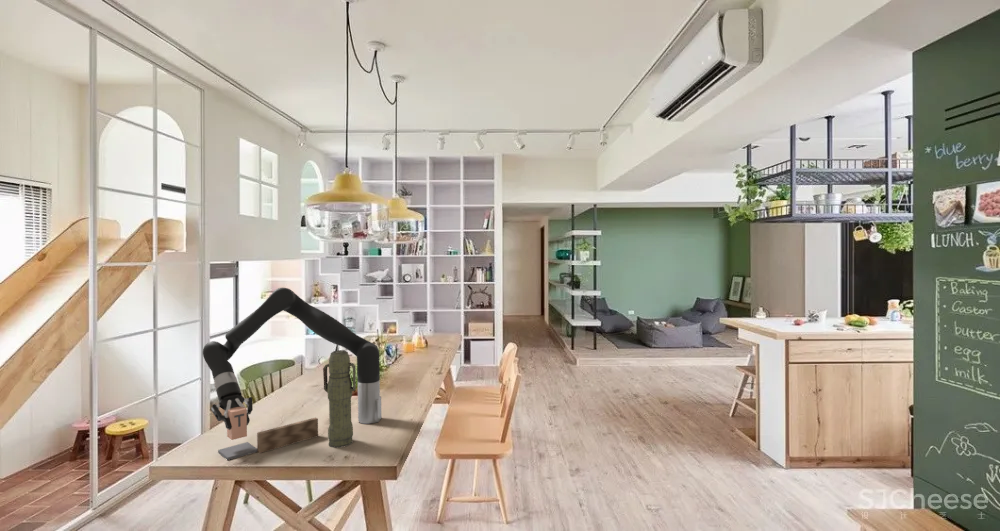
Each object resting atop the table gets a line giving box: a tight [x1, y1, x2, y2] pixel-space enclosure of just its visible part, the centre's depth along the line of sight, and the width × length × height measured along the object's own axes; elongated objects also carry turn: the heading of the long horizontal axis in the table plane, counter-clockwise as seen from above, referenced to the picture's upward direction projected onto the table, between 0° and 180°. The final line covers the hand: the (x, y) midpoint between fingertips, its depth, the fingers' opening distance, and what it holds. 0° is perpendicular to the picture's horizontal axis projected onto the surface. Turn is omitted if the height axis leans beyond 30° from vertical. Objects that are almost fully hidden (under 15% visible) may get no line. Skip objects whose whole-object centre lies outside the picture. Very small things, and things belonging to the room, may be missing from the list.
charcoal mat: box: [217, 441, 259, 461], centre depth 173 cm, size 10×10×1 cm
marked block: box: [226, 407, 248, 441], centre depth 173 cm, size 5×5×10 cm
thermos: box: [322, 349, 357, 448], centre depth 180 cm, size 9×12×35 cm
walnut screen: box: [256, 416, 319, 454], centre depth 180 cm, size 22×2×7 cm, turn 137°
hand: (238, 426), depth 171 cm, fingers closed on marked block, 5 cm apart
